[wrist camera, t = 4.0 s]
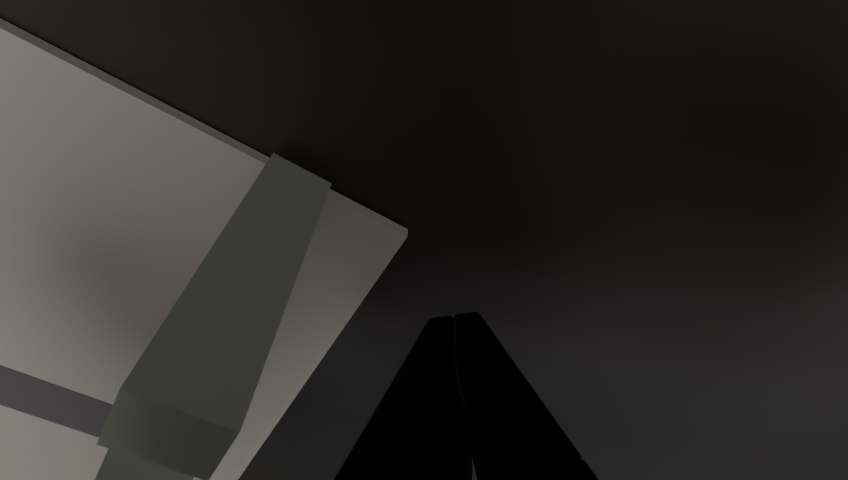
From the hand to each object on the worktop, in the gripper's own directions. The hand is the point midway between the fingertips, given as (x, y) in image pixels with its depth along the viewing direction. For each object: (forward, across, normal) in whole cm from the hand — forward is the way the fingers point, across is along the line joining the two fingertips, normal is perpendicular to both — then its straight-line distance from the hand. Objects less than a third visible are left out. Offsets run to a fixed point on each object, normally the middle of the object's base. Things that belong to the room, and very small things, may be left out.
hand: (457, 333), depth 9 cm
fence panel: (+2, +6, +1) cm, 6 cm away
